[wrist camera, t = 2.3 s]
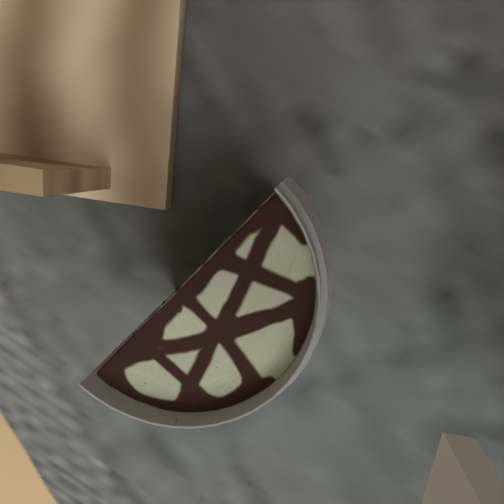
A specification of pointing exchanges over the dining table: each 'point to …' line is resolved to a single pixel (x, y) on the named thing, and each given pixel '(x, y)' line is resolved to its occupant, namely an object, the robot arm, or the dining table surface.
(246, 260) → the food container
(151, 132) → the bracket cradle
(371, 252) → the dining table surface
